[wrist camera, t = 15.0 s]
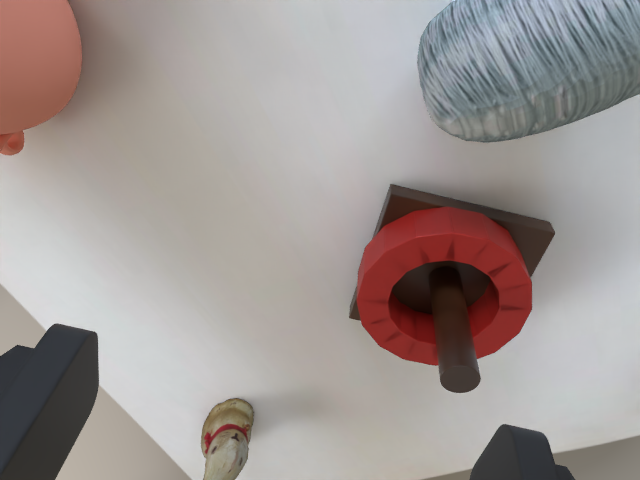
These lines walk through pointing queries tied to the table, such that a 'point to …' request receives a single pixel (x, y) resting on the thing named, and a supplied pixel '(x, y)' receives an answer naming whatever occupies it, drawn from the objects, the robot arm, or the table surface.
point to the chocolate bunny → (226, 439)
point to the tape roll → (432, 246)
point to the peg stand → (454, 281)
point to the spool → (527, 64)
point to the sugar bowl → (35, 65)
